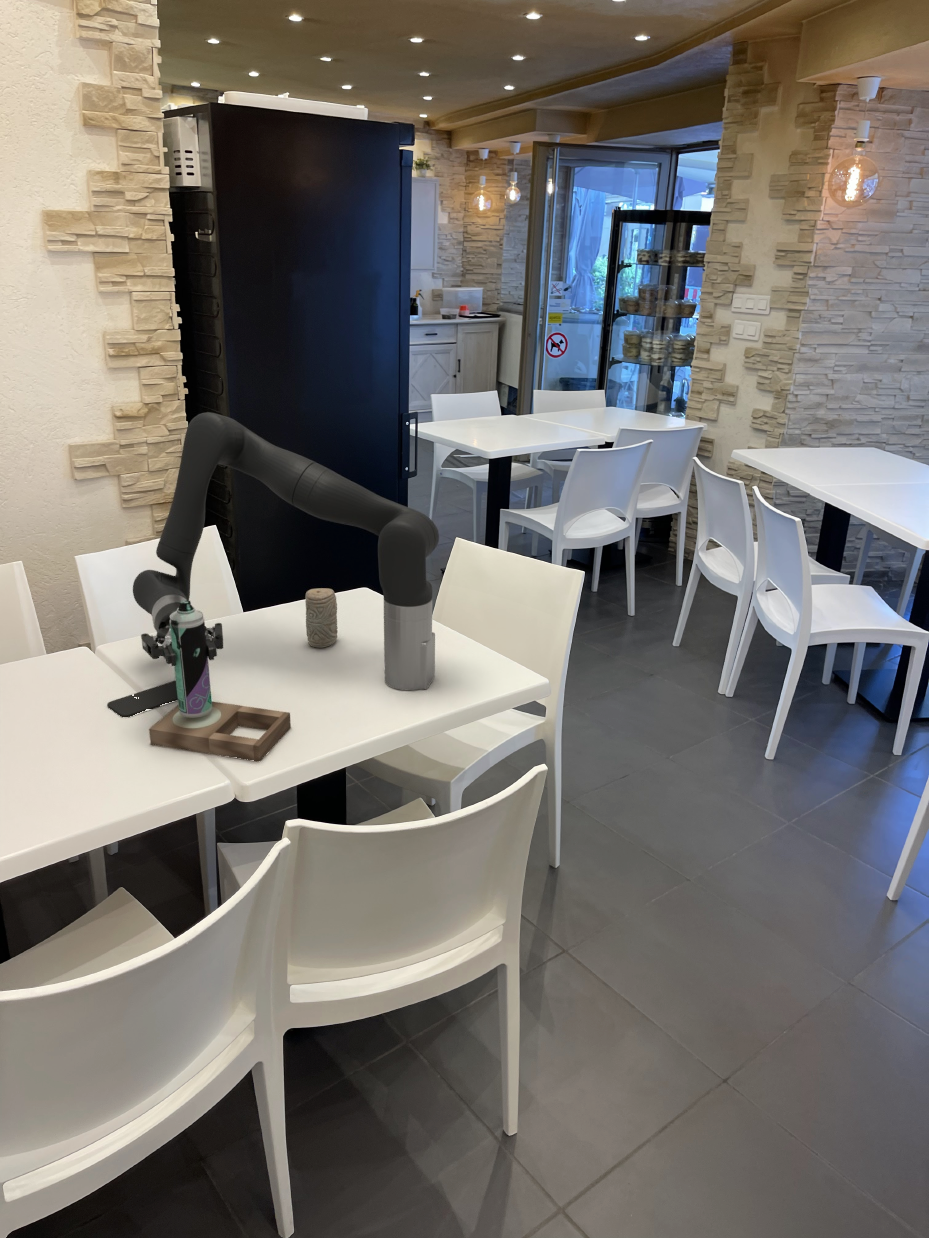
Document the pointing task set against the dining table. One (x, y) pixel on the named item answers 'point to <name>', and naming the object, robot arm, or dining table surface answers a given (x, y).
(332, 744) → the dining table surface
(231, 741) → the walnut tray
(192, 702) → the spray can
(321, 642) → the carving
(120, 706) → the phone
